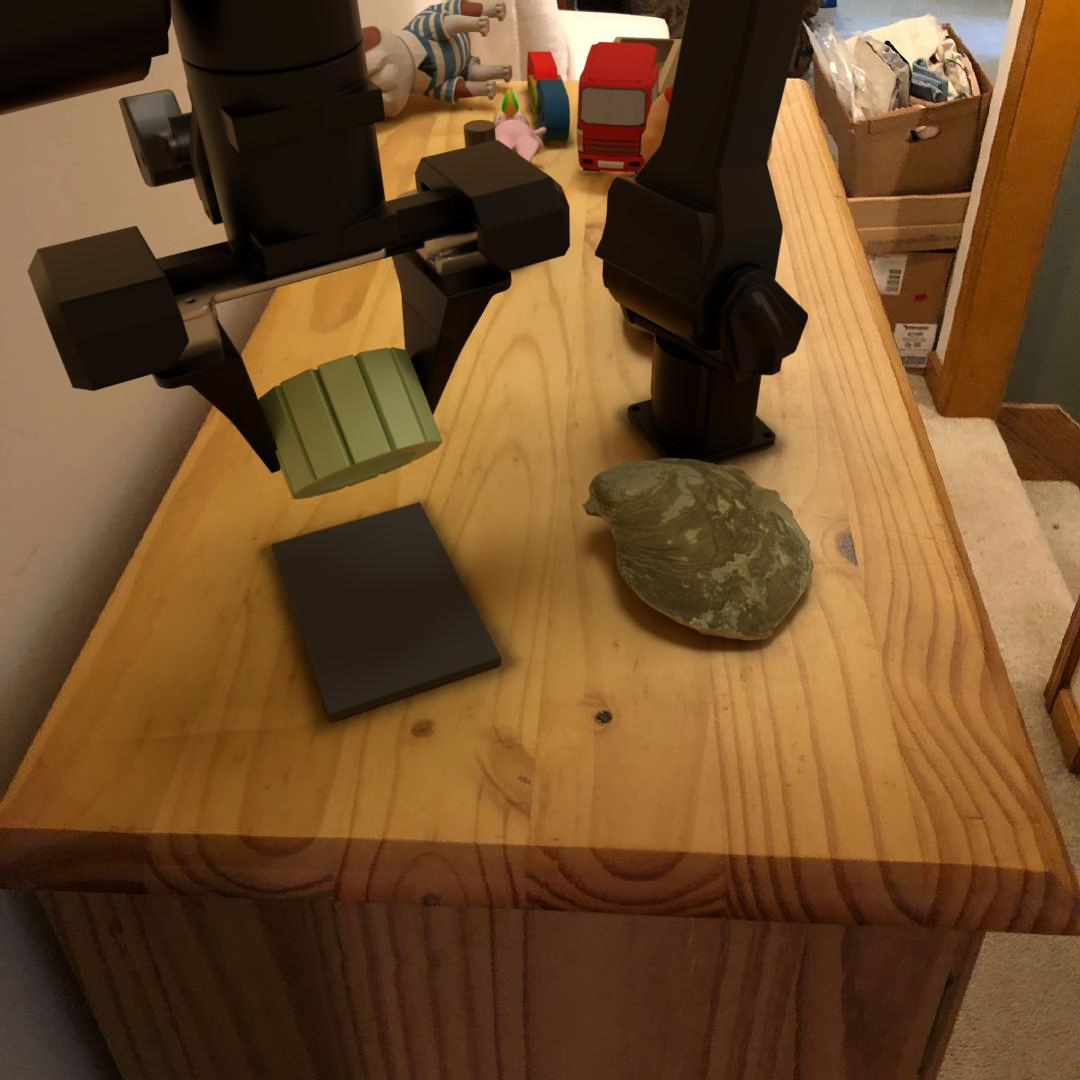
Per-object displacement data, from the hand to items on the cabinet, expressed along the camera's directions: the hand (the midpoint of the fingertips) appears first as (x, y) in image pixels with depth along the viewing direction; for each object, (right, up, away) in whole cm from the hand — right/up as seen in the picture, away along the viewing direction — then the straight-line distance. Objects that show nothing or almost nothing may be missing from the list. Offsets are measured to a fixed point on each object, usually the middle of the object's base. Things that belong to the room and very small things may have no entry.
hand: (350, 440), depth 43 cm
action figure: (+20, +20, +36) cm, 46 cm away
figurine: (+4, +42, +54) cm, 68 cm away
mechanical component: (+7, +38, +53) cm, 66 cm away
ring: (+1, -1, -1) cm, 2 cm away
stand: (+4, +18, +34) cm, 39 cm away
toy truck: (+16, +31, +48) cm, 60 cm away
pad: (0, -7, +7) cm, 10 cm away
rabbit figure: (+6, +29, +46) cm, 55 cm away
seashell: (+16, -6, +8) cm, 18 cm away
